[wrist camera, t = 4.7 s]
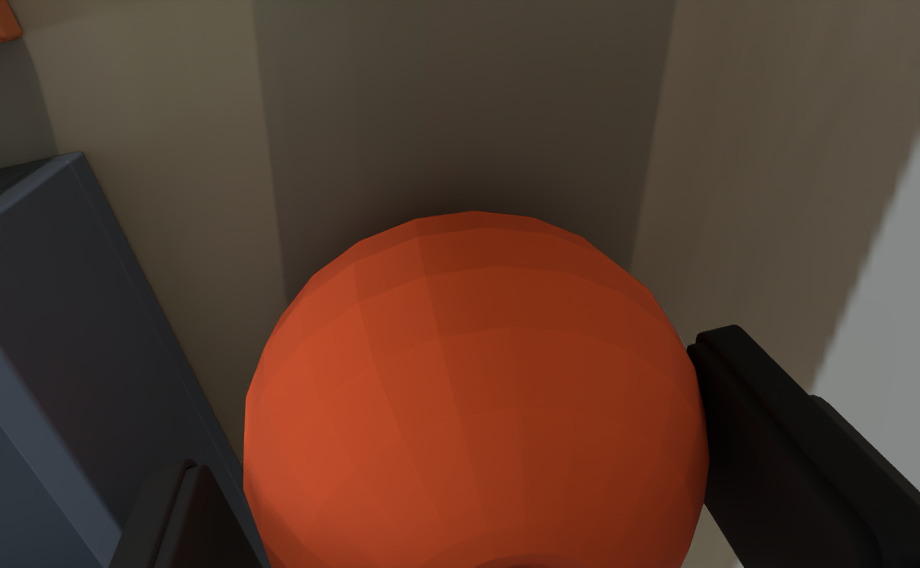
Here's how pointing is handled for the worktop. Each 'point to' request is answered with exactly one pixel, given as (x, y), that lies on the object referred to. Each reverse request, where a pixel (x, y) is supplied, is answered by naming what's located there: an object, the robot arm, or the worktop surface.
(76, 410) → the grey bin
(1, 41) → the terracotta bin
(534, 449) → the clementine
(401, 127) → the worktop surface
